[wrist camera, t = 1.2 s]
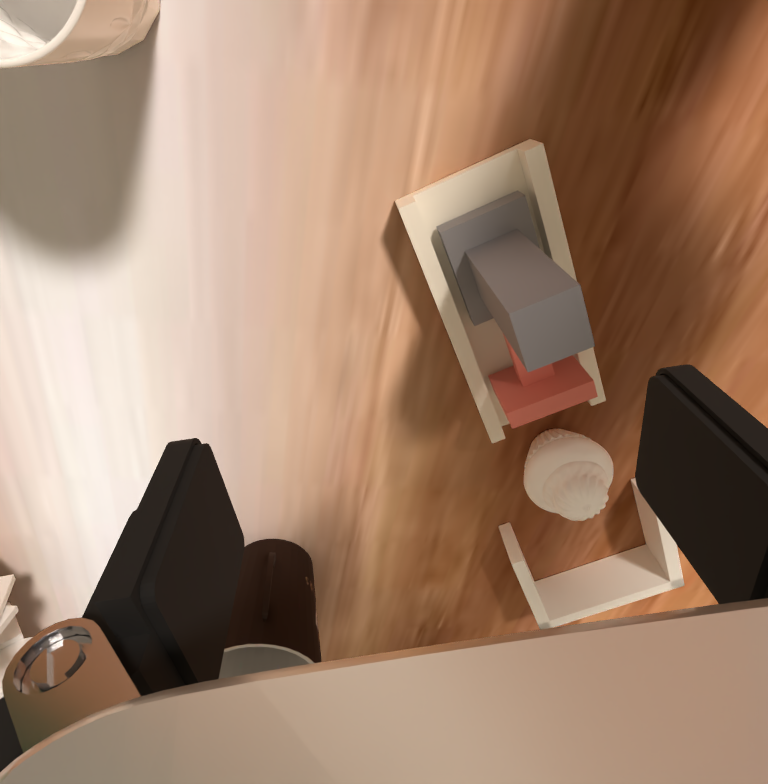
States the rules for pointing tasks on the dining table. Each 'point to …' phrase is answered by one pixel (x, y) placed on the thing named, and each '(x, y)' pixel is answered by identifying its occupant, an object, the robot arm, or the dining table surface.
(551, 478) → the white ribbed dome
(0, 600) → the spiral staircase
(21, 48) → the white cup
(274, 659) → the coffee mug
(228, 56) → the dining table surface
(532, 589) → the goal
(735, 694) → the robot arm
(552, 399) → the block
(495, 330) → the track
